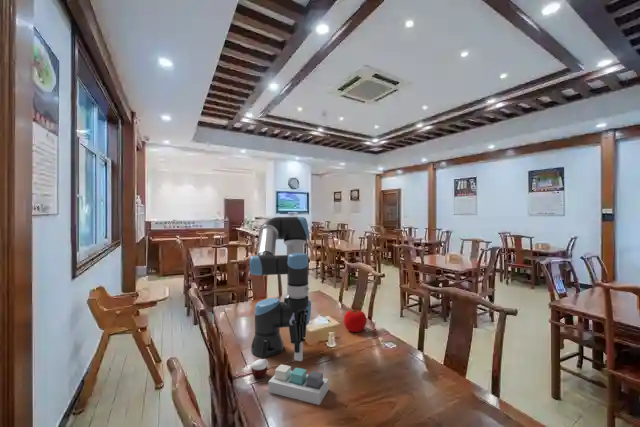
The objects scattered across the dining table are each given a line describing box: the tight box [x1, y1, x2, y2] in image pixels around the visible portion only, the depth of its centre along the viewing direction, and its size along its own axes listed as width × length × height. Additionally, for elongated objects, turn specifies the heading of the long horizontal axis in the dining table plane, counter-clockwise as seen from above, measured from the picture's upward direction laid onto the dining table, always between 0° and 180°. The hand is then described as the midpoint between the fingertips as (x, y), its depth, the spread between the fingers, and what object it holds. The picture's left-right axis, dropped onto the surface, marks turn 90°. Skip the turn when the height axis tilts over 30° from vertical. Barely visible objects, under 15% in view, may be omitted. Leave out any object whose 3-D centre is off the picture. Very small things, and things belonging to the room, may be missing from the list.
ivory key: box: [274, 364, 292, 382], centre depth 114 cm, size 4×4×4 cm
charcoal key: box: [307, 370, 324, 390], centre depth 109 cm, size 4×4×4 cm
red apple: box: [343, 309, 367, 333], centre depth 166 cm, size 12×13×11 cm
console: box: [267, 370, 330, 406], centre depth 111 cm, size 20×9×4 cm, turn 68°
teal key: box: [291, 367, 308, 386], centre depth 111 cm, size 4×4×4 cm
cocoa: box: [250, 340, 269, 379], centre depth 122 cm, size 10×6×12 cm, turn 139°
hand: (298, 359), depth 111 cm, fingers closed
